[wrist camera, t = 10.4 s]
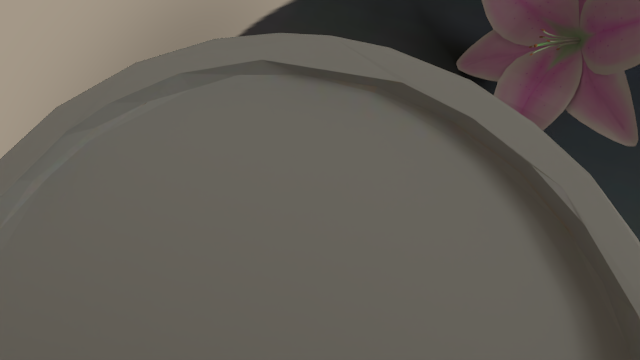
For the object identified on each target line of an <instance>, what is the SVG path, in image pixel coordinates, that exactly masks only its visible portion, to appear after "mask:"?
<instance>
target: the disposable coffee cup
mask: <svg viewBox="0 0 640 360" xmlns="http://www.w3.org/2000/svg"><path fill="white" fill-rule="evenodd" d="M0 360H640V242H639V240H638V239H637V237H636V236H635V234H634V233H633V232H632V230H631V229H630V228H629V226H628V225H627V224H626V222H625V221H624V220H623V218H622V217H621V215H620V214H619V213H618V211H617V210H616V209H615V207H614V206H613V205H612V203H611V202H610V201H609V199H608V198H607V197H606V195H605V194H604V193H603V191H602V190H601V188H600V187H599V186H598V184H597V183H596V182H595V180H594V179H593V178H592V176H591V175H590V174H589V173H588V172H587V171H586V170H585V169H584V168H583V167H581V166H580V165H579V164H578V163H577V162H576V161H575V160H574V159H573V158H572V157H571V156H570V155H568V154H567V153H566V152H565V151H564V150H563V149H562V148H561V147H560V146H559V145H558V144H557V143H555V142H554V141H553V140H552V139H551V138H550V137H549V136H548V135H547V134H546V133H545V132H544V131H542V130H541V129H540V128H539V127H538V126H537V125H536V124H535V123H533V122H532V121H530V120H529V119H527V118H526V117H525V116H523V115H522V114H520V113H519V112H517V111H516V110H514V109H513V108H511V107H510V106H508V105H507V104H505V103H504V102H502V101H501V100H499V99H498V98H496V97H495V96H493V95H492V94H491V93H489V92H488V91H486V90H485V89H483V88H482V87H480V86H479V85H477V84H476V83H474V82H473V81H471V80H469V79H466V78H464V77H461V76H459V75H456V74H454V73H451V72H449V71H446V70H444V69H441V68H439V67H436V66H434V65H431V64H429V63H426V62H424V61H421V60H419V59H416V58H414V57H411V56H409V55H406V54H404V53H401V52H399V51H396V50H394V49H391V48H388V47H383V46H378V45H373V44H369V43H364V42H359V41H354V40H349V39H344V38H339V37H335V36H328V35H309V34H290V33H274V34H263V35H253V36H242V37H231V38H220V39H213V40H210V41H206V42H203V43H200V44H197V45H193V46H190V47H187V48H183V49H180V50H176V51H173V52H170V53H167V54H163V55H160V56H157V57H153V58H150V59H147V60H143V61H140V62H137V63H135V64H133V65H131V66H129V67H127V68H126V69H124V70H122V71H120V72H119V73H117V74H115V75H113V76H111V77H110V78H108V79H106V80H104V81H103V82H101V83H99V84H97V85H95V86H94V87H92V88H90V89H88V90H87V91H85V92H83V93H81V94H80V95H78V96H76V97H74V98H72V99H71V100H69V101H67V102H65V103H64V104H62V105H60V106H58V107H57V108H55V109H54V110H53V111H52V112H51V113H50V114H49V115H48V116H46V118H44V119H43V120H42V121H41V122H40V123H39V124H38V125H37V126H36V127H35V128H33V129H32V130H31V131H30V132H29V133H28V134H27V135H26V136H25V137H24V138H23V139H22V140H20V141H19V142H18V143H17V144H16V145H15V146H14V147H13V148H12V149H11V150H10V151H8V152H7V153H6V154H5V155H4V156H3V157H2V158H1V159H0Z"/></svg>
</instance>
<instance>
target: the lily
mask: <svg viewBox="0 0 640 360" xmlns="http://www.w3.org/2000/svg"><path fill="white" fill-rule="evenodd" d="M482 3H483V7H484V10H485V13H486V16H487V18H488V20H489V22H490V24H491V26H492V27H493V30H492V31H491V32H489V33H488V34H486V35H485V36H483V37H482V38H481V39H479V40H478V41H477V42H476V43H475V44H473V45H472V46H471V47H470V48H469V49H468V50H467V51H466V52H465V53H464V54H463V55H462V56H461V57H460V58H459V59H458V61H457V63H456V65H457V68H458V70H460V71H462V72H464V73H466V74H469V75H472V76H475V77H478V78H482V79H486V80H491V81H497V82H498V83H497V86H496V90H495V93H494V96H495V97H496V98H498V99H499V100H501V101H502V102H504V103H505V104H507V105H508V106H510V107H511V108H513V109H514V110H516V111H517V112H519V113H520V114H522V115H523V116H525V117H526V118H527V119H529V120H530V121H532V122H533V123H535V124H536V125H537V126H538V127H539V128H540V129H541V130H542V131H543V130H544V129H545V128H546V127H548V126H549V125H550V124H551V123H552V122H553V121H554V120H555V119H556V118H557V117H558V116H559V115H560V114H561V113H562V112H563V111H564V110H565V109H566V111H567V112H568V113H570V114H571V115H572V116H573V117H575V118H576V119H577V120H579V121H580V122H582V123H583V124H585V125H587V126H588V127H590V128H591V129H593V130H595V131H596V132H598V133H600V134H602V135H604V136H606V137H608V138H609V139H611V140H613V141H616V142H618V143H621V144H623V145H626V146H636V144H637V142H638V131H637V124H636V118H635V112H634V107H633V102H632V98H631V93H630V89H629V86H628V82H627V79H626V75H625V72H624V71H625V70H627V69H629V68H632V67H634V66H636V65H638V64H640V0H482Z"/></svg>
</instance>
